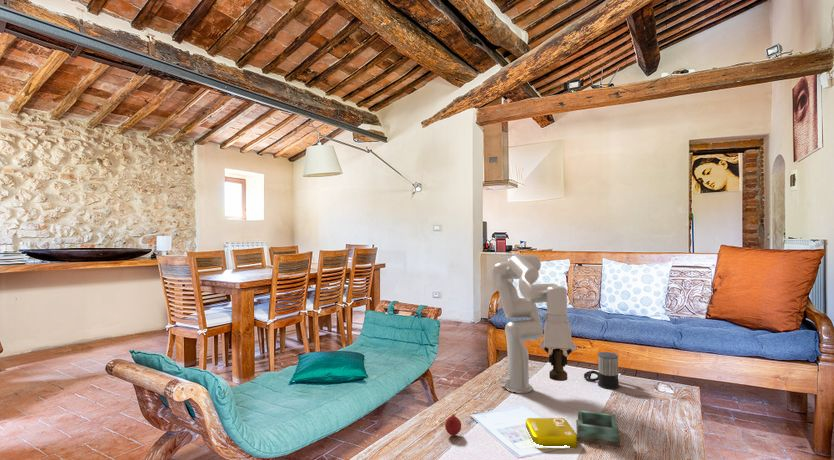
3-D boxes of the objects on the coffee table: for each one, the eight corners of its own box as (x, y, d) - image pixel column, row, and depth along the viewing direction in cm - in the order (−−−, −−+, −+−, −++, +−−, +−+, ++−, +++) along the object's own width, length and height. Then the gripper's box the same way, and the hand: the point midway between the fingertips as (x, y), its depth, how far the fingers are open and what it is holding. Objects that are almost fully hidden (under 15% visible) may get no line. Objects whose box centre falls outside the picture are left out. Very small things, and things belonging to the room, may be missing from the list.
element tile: (524, 429, 157) (524, 416, 157) (565, 429, 157) (564, 416, 157) (534, 450, 142) (534, 436, 142) (579, 450, 142) (579, 435, 142)
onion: (456, 441, 148) (456, 418, 148) (442, 437, 151) (442, 415, 151) (464, 434, 153) (463, 412, 153) (450, 430, 156) (449, 409, 156)
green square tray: (576, 441, 147) (576, 425, 147) (576, 423, 160) (576, 409, 160) (621, 447, 142) (620, 431, 142) (616, 429, 155) (616, 414, 155)
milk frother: (619, 391, 191) (618, 358, 191) (582, 385, 198) (581, 354, 198) (619, 380, 204) (618, 350, 204) (584, 376, 211) (584, 346, 211)
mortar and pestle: (565, 375, 166) (564, 330, 166) (569, 381, 160) (568, 334, 160) (548, 375, 167) (546, 330, 167) (551, 381, 160) (550, 334, 161)
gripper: (534, 318, 163) (535, 366, 163) (580, 321, 157) (581, 370, 157) (535, 315, 170) (536, 360, 170) (580, 317, 164) (581, 364, 164)
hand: (558, 364), depth 163 cm, fingers closed on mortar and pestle, 3 cm apart
